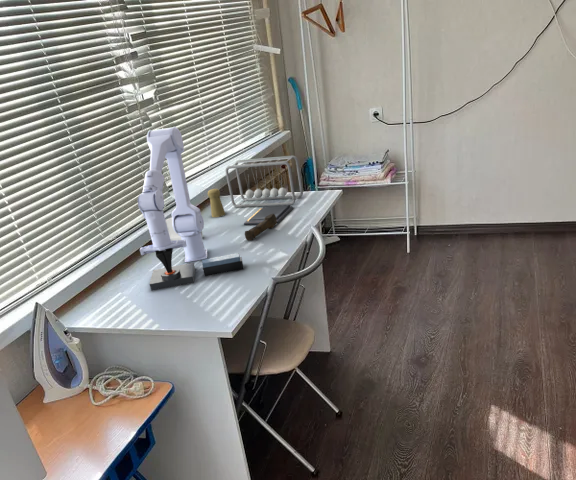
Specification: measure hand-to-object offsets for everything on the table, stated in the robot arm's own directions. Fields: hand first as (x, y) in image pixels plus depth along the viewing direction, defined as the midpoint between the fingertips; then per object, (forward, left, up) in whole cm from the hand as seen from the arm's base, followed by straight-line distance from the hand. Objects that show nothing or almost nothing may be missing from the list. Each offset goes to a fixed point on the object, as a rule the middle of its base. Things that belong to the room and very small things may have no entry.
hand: (169, 271), depth 196 cm
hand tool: (-37, +32, -4) cm, 49 cm away
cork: (-72, +15, -4) cm, 74 cm away
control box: (-4, 0, -4) cm, 5 cm away
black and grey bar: (-3, +17, -4) cm, 18 cm away
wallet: (-56, +36, -4) cm, 67 cm away
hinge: (-47, +1, -4) cm, 47 cm away
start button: (0, 0, -1) cm, 2 cm away
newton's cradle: (-77, +37, -4) cm, 86 cm away
